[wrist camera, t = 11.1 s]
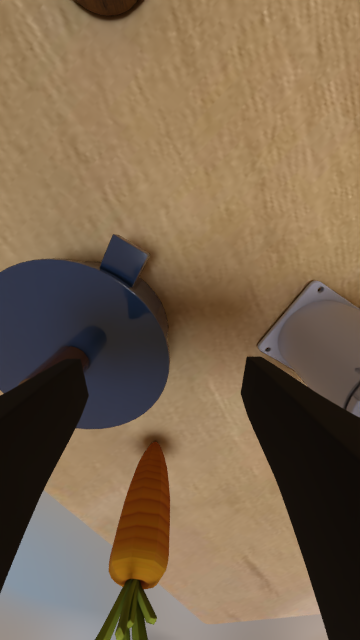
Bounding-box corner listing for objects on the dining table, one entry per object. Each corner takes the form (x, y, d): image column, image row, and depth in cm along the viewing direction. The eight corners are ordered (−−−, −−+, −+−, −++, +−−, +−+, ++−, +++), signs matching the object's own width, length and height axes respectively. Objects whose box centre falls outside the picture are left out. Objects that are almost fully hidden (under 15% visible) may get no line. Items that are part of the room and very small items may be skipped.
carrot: (129, 443, 25) (63, 685, 12) (151, 422, 24) (105, 671, 10) (159, 459, 27) (131, 698, 13) (182, 440, 25) (179, 687, 11)
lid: (205, 323, 14) (215, 360, 9) (125, 438, 18) (107, 498, 14) (7, 211, 11) (-101, 193, 7) (-28, 376, 16) (-106, 426, 12)
